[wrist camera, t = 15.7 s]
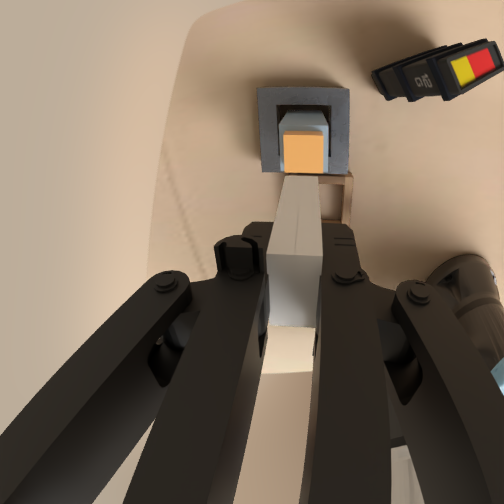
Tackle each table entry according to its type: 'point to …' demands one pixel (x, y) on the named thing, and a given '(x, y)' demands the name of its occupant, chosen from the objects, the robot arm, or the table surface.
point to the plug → (303, 142)
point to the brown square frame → (346, 195)
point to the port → (304, 96)
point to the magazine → (440, 71)
